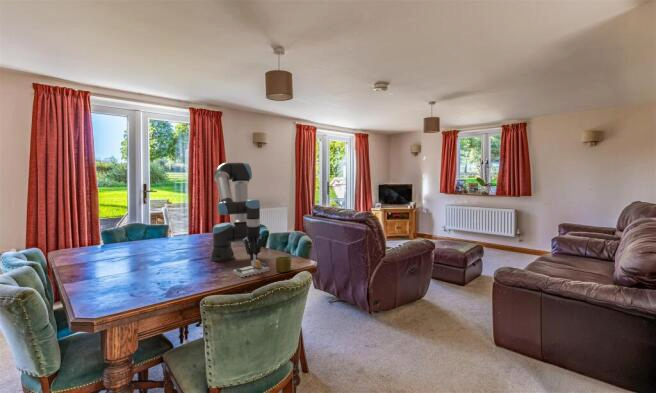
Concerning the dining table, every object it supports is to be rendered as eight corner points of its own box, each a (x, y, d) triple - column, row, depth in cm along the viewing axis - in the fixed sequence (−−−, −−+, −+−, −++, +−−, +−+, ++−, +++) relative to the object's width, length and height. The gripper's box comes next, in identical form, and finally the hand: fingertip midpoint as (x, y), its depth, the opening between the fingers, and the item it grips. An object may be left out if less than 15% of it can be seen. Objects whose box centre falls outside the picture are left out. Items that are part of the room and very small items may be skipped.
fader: (252, 266, 190) (252, 260, 190) (256, 265, 192) (256, 259, 192) (256, 268, 187) (256, 261, 187) (260, 267, 189) (260, 261, 189)
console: (233, 273, 185) (233, 267, 185) (260, 267, 197) (260, 261, 197) (241, 277, 178) (241, 271, 178) (269, 270, 190) (269, 265, 190)
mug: (290, 271, 184) (286, 254, 186) (274, 275, 186) (270, 258, 188) (298, 269, 196) (294, 253, 197) (282, 273, 198) (279, 257, 200)
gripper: (246, 228, 179) (246, 269, 181) (266, 225, 188) (266, 264, 190) (239, 226, 184) (240, 266, 187) (259, 223, 193) (259, 261, 195)
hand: (253, 265), depth 188 cm, fingers closed
